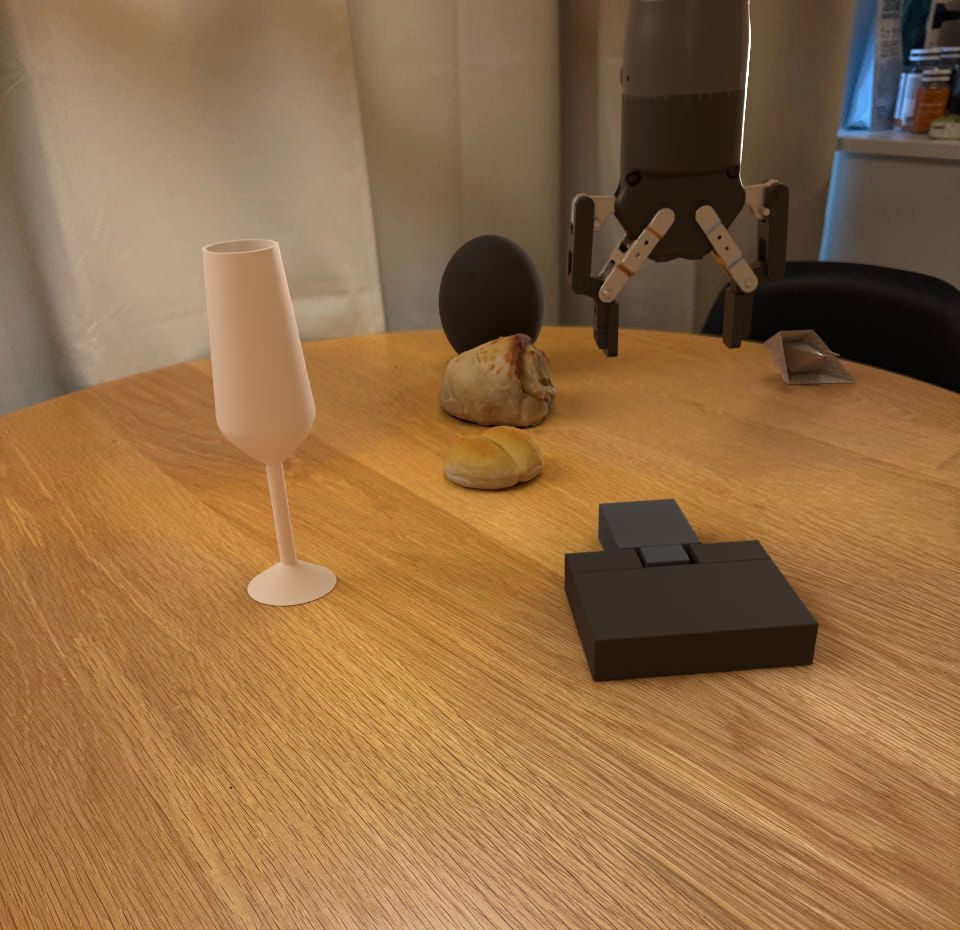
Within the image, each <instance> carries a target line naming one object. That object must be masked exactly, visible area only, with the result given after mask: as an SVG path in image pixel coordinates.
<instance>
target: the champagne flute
mask: <svg viewBox="0 0 960 930" xmlns="http://www.w3.org/2000/svg"><path fill="white" fill-rule="evenodd" d="M201 254H202V255H201V256H202V265H203V277H204V279H203V280H204V292H205V303H206V313H207V315H206V316H207V324H208V326H207V327H208V337H209V338H208V339H209V351H210V364H211V373H212V374H211V375H212V384H213V385H212V387H213V397H214V399H213V400H214V409H215V421H216V424H217V427H218V429H219V430H220V431H221V433H222V434H223V436H224V437H225V438H226V439H227V440H228V441H229V442H230V444H232V445H233V446H234V447H235V448H237V449H238V450H239V451H241V452H243V453H244V454H246V455H247V456H248V457H250V458H252V459H253V460H255V461H257V462H259V463H262V464H265V471H266V477H267V478H266V479H267V484H268V491H269V498H270V503H271V509H272V515H273V522H274V527H275V534H276V541H277V547H278V554H279V560H280V561H278V562H276V563H275V564H273V565H272V566H270V567H269V568H266V569H265V570H264V571H262V572H260V573H259V574H257V575H256V576H254V578H252V579H251V580H250V581H249V583H248V585H247V588H246V590H247V594H248V595H249V597H250V598H251V599H252V600H254V601H256V602H258V603H260V604H265V605H268V606H276V607H277V606H278V607H280V606H281V607H284V606H285V607H286V606H296V605H301V604H305V603H311V602H313V601H316V600H318V599H320V598H322V597H324V596H326V595H327V594H328V593H330V592H331V591H332V590H334V588H335V586H336V584H337V582H338V581H337V580H338V579H337V575H336V573H335V572H334V571H332V570H331V569H329V568H328V567H326V566H322V565H319V564H316V563H312V562H309V561H305V560H303V559H298V558H297V553H296V547H295V540H294V533H293V527H292V519H291V513H290V507H289V500H288V493H287V487H286V479H285V473H284V466H283V462H284V461H285V460H287V459H288V458H290V457H291V456H292V455H293V454H294V453H295V451H296V450H297V449H298V448H299V447H300V445H301V444H302V443H303V442H304V441H305V439H306V438H307V437H308V435H309V433H310V431H311V430H312V427H313V425H314V422H315V420H316V413H317V412H316V411H317V410H316V405H315V401H314V396H313V392H312V388H311V383H310V378H309V374H308V370H307V365H306V360H305V356H304V352H303V347H302V343H301V338H300V334H299V329H298V325H297V319H296V316H295V311H294V308H293V302H292V297H291V293H290V289H289V285H288V280H287V275H286V271H285V267H284V262H283V258H282V252H281V249H280V244H279V242H278V241H276V240H272V239H264V238H263V239H261V238H254V239H253V238H251V239H249V238H248V239H234V240H233V239H232V240H225V241H219V242H214V243H211V244H208V245H205V246H203V247H202V248H201Z"/></svg>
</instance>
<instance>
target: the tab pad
mask: <svg viewBox="0 0 960 930" xmlns="http://www.w3.org/2000/svg"><path fill="white" fill-rule="evenodd" d="M597 523H598V524H597V525H598V526H597V538H598V541H599V543H600V545H601V548H602V551H607V550H621V549H634V550H635V552H636V554H637V556H638V558H639V560H640V563H641V565H642V567H643V568H649V567H663V566H677V565H689V563H690V560H689V545H691V544H702V541H701V540H700V538H699V536H698V535H697V533H696V532H695V530H694V528H693V527H692V525H691V523H690V522H689V521H688V519H687V517H686V515H685V514H684V512H683V511H682V509H681V507H680V506H679V504H678V502H677V501H676V499H675V498H661V499H660V498H659V499H647V500H632V501H631V500H630V501H619V502H617V501H616V502H603V503H602V502H601V503H598V522H597Z"/></svg>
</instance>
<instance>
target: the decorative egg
mask: <svg viewBox="0 0 960 930" xmlns="http://www.w3.org/2000/svg"><path fill="white" fill-rule="evenodd" d="M545 311H546V294H545V287H544V283H543V279H542V276H541V273H540V271H539V268H538V267H537V264H536V263H535V261H534V259H533V258H532V257H531V255H530V254H529V253H528V251H527V250H526V249H525V248H524V247H522V245H520V244H519V243H517V242H516V241H514V240H513V239H512V238H509V237H506V236H504V235H498V234H483V235H479V236H476V237H473V238H471V239H470V240H468V241H466V242H465V243H464V244H462V245H461V246H459V248H458V249H457V250H455V252H454V253H453V255H452V256H451V257H450V259H449V260H448V262H447V264H446V266H445V268H444V271H443V272H442V276H441V280H440V284H439V290H438V313H439V319H440V324H441V326H442V330H443V332H444V335H445V337H446V339H447V341H448V343H449V345H450V346H451V348H452V349H453V350H454V352H455V353H456V354H457V355H458V356H459V355H460V354H462V353H463V352H465V351H469V350H471V349H474V348H476V347H478V346H480V345H482V344H485V343H487V342H490V341H493V340H496V339H498V338H499V337H509V336H512V335H515V334H525V335H527V336H528V337H530V338H531V339H532V341H533V343H534V345H535V344H536V342H537V341H538V338H539V336H540V334H541V331H542V327H543V324H544V320H545V314H546V313H545Z"/></svg>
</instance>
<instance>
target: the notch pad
mask: <svg viewBox="0 0 960 930" xmlns="http://www.w3.org/2000/svg"><path fill="white" fill-rule="evenodd" d="M689 560H690V563H689V565H677V566H663V567H649V568H643V567H642V565H641V563H640V560H639V558H638V556H637V554H636V552H635V550H634V549H621V550H607V551H604V550H595V551H582V552H581V551H579V552H567V553H564V592H565V596H566V599H567V602H568V605H569V608H570V611H571V614H572V617H573V621H574V624H575V627H576V630H577V633H578V636H579V640H580V643H581V645H582V646H581V647H582V650H583V653H584V655H585V659H586V661H587V665H588V668H589V671H590V675H591V678H592V680H593V682H599V681H612V680H625V679H636V678H637V679H638V678H651V677H663V676H678V675H689V674H691V675H692V674H702V673H715V672H728V671H741V670H742V671H743V670H754V669H756V670H757V669H765V668H767V669H769V668H780V667H781V668H783V667H794V666H805V665H806V666H807V665H813V663H814V656H815V650H816V643H817V637H818V631H819V625H820V624H819V622H818V621H817V619H816V618H815V617H814V616H813V614H812V612H811V611H810V610H809V608H808V607H807V606H806V604H805V602H804V601H803V600H802V599H801V597H800V596H799V594H798V593H797V591H796V590H795V589H794V588H793V586H792V585H791V584H790V582H789V581H788V580H787V578H786V577H785V575H784V574H783V573H782V571H781V569H780V568H779V567H778V566H777V565H776V563H775V562H774V560H773V559H772V557H771V556H770V554H769V553H768V552H767V550H766V549H765V548H764V546H763V544H762V543H761V542H760V541H759V539H748V540H736V541H735V540H734V541H722V542H721V541H720V542H709V543H701V544H691V545H689Z"/></svg>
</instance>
